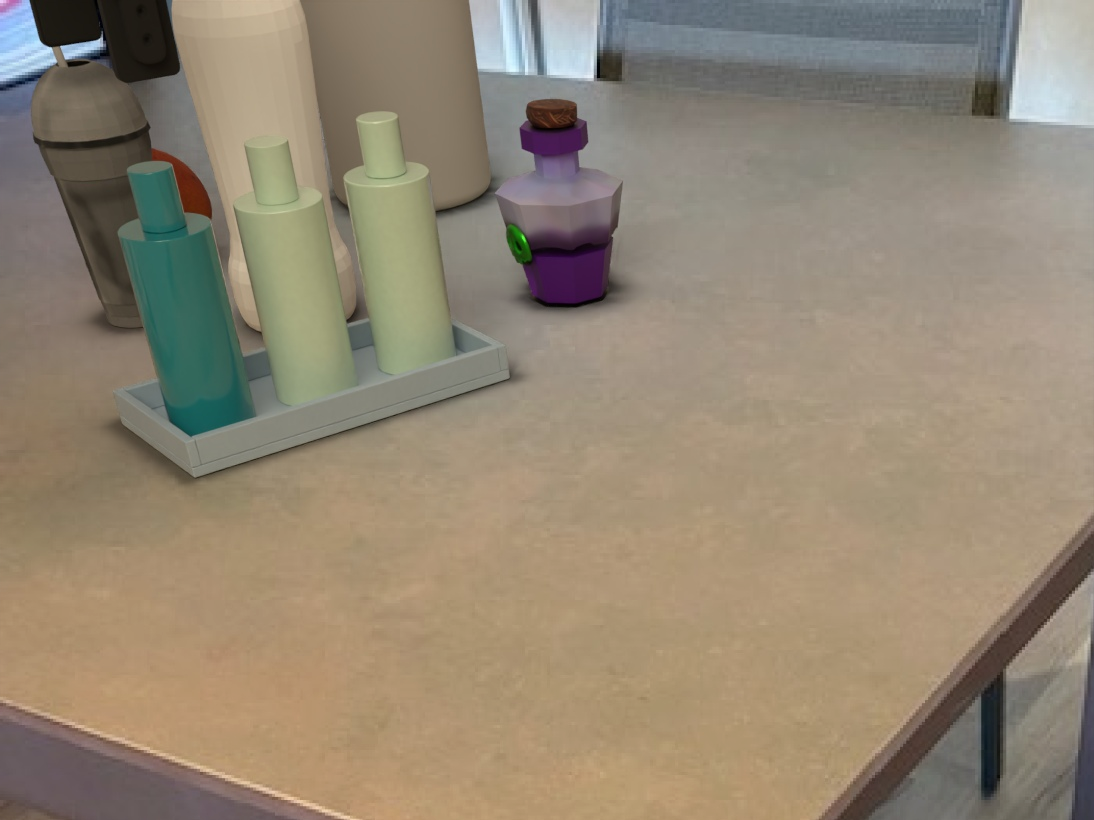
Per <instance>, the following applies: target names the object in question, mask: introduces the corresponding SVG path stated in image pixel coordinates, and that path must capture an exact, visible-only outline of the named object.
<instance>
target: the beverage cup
mask: <svg viewBox="0 0 1094 820" xmlns="http://www.w3.org/2000/svg"><path fill="white" fill-rule="evenodd" d="M51 50H52V52H53V55H54V57H55V61H56V63H55V64H53V65H51V66H50V67H49V68H47V70H46V71H45V72H44V73H43V74H42V75H41V76H40V78H39V79H38V81H37V82H36V85H35V87H34V90H33V92H32V97H31V100H30V102H31V103H30V119H31V120H30V121H31V125H32V129H33V131H32V139H33V143H34V144H35V145H37V146H38V149H39V152H40V155H41V157H42V160H43V161H44V163H45V166H46V167H47V171H48V172H49V174H50V175H51V176H52V177H53V180H54V182H55V185H56V187H57V191H58V193H59V195H60V198H61V200H62V204H63V206H64V208H65V211H66V214H67V217H68V219H69V222H70V225H71V228H72V231H73V233H74V236H75V238H76V241H77V244H78V247H79V249H80V252H81V255H82V257H83V260H84V263H85V265H86V268H87V270H88V273H89V276H90V278H91V281H92V284H93V287H94V289H95V292H96V295H97V297H98V301H100V303H101V305H102V308H103V311H104V312H105V315H106V318H107V321H108V323H109V324H110V325H112V326H113V327H119V328H128V329H132V328H133V329H135V328H143V325H142V321H141V317H140V314H139V310H138V306H137V303H136V299H135V295H134V292H133V288H132V284H131V281H130V277H129V273H128V270H127V266H126V262H125V259H124V255H123V251H122V248H121V244H120V240H119V237H118V230H119V228H120V227H121V226H123V225H124V224H126V223H128V222H130V221H133V220H135V219H138V218H139V216H138V212H137V209H136V205H135V201H134V197H133V193H132V190H131V186H130V182H129V178H128V174H127V168H128V167H130V166H132V165H134V164H138V163H142V162H148V161H152V148H153V147H152V140H151V135H150V130H151V129H152V128H151V125H150V123H149V121H148V119H147V118H146V115H145V111H144V110H143V107H142V105H141V102H140V101H139V99H138V98H137V95H136V94H135V93H134V91H133V90H132V88H131V86H130V85H129V83H125V82H122V81H120V80H119V79H117V77H116V76H115V73H114V69H111V68H110V67H108V66H107V65H105V64H102V63H101V62H98V61H94V60H91V59H88V58H71V59H66V58H65V55H64V53H63V50H62V46H59V47H51Z"/></svg>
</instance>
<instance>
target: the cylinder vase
mask: <svg viewBox="0 0 1094 820" xmlns="http://www.w3.org/2000/svg"><path fill="white" fill-rule="evenodd" d="M300 2H301V5H302V8H303V11H304V14H305V18H306V24H307V29H308V35H309V43H310V50H311V58H312V66H313V73H314V81H315V88H316V96H317V103H318V111H319V119H320V125H321V130H322V133H323V134H322V136H323V140H324V144H325V151H326V156H327V160H328V167H329V172H330V179H331V182H332V188H333V191H334V194H335V196H336V198H337V199H338V200H339V201H340V202H341V203H343V204H344V205H345V206H347V207H348V202H347V196H346V190H345V185H344V179H343V177H344V175H345V173H347V172H348V171H350V170H352V169H354V168H356V167H359V166H363V165H364V163H363V157H362V151H361V146H360V140H359V134H358V128H357V122H356V118H357V117H358V116H360V115H362V114H365V113H369V112H377V111H387V112H393V113H396V114H397V115H398V118H399V125H400V131H401V137H402V144H403V150H404V157H405V161H407V162H414V163H419V164H422V165H424V166H426V167H427V168H428V169H429V172H430V179H431V186H432V192H433V199H434V206H435V212H438V211H443V210H449V209H451V208H455V207H458V206H461V205H464V204H467V203H470V202H471V201H474V200H475V199H477V198H479V197H480V196H482V195H483V194H484V193H485V192H486V191H487V189H488V188H489V186H490V183H491V180H492V174H491V173H492V172H491V166H490V165H491V164H490V157H489V149H488V140H487V135H486V134H487V133H486V125H485V117H484V110H483V109H484V108H483V100H482V94H481V87H480V86H481V85H480V77H479V69H478V63H477V62H478V61H477V53H476V45H475V37H474V29H473V20H472V14H471V6H470V5H471V4H470V0H300Z"/></svg>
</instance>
